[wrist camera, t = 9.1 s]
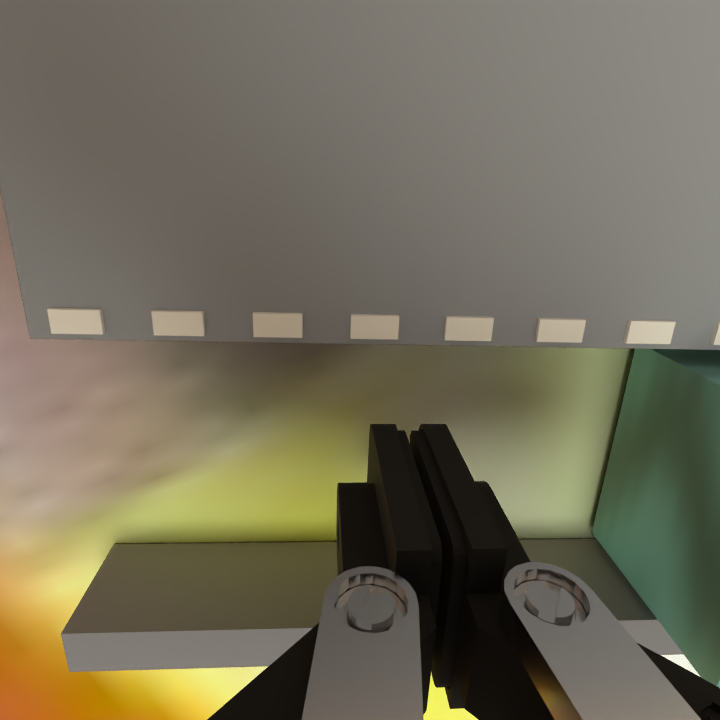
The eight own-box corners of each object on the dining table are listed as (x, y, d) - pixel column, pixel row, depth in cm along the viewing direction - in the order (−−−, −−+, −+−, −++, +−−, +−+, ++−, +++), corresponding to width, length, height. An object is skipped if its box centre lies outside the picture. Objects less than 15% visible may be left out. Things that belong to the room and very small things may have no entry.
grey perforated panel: (-14, -249, 9) (-181, -460, 6) (1030, -150, 10) (1307, -280, 7) (119, 577, 15) (69, 671, 12) (756, 567, 16) (848, 649, 13)
